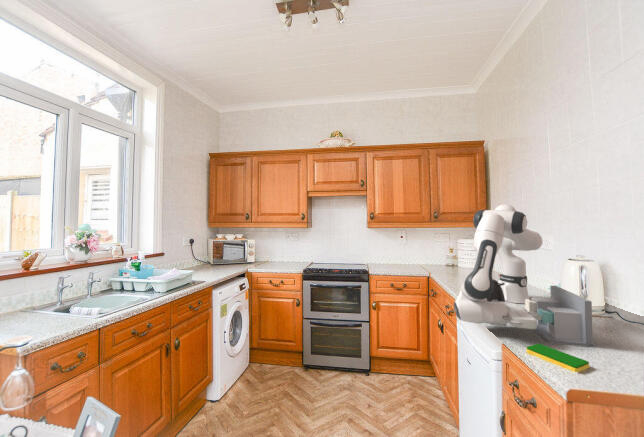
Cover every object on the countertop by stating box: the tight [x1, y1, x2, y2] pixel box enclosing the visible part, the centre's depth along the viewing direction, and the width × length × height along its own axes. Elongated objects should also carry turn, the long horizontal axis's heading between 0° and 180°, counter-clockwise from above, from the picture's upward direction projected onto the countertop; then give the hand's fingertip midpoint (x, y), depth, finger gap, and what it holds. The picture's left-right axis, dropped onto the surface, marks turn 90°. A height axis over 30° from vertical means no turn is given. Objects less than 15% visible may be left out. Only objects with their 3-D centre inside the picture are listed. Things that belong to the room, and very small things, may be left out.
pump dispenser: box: [487, 278, 505, 302], centre depth 137 cm, size 10×10×15 cm
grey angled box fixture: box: [530, 285, 597, 348], centre depth 109 cm, size 14×24×16 cm, turn 163°
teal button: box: [538, 309, 554, 324], centre depth 103 cm, size 8×4×4 cm, turn 73°
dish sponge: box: [526, 343, 590, 373], centre depth 88 cm, size 7×14×2 cm, turn 23°
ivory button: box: [524, 298, 537, 312], centre depth 117 cm, size 8×4×4 cm, turn 73°
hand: (540, 316), depth 105 cm, fingers closed, pressing on teal button
